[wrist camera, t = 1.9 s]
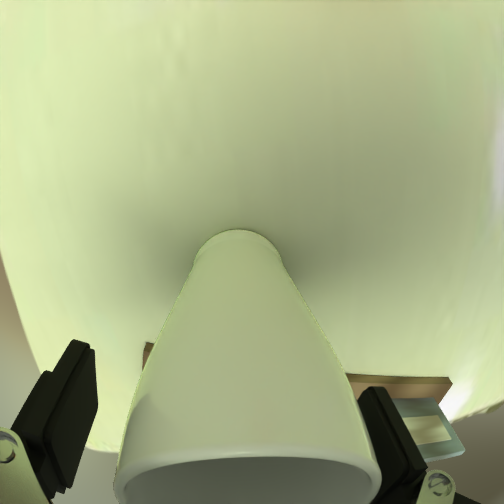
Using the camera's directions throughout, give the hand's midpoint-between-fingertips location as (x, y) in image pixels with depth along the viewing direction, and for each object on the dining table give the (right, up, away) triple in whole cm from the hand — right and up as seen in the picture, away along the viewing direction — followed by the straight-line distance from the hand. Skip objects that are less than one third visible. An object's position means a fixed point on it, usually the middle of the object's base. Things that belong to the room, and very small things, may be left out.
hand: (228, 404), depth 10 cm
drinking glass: (0, +4, +10) cm, 11 cm away
